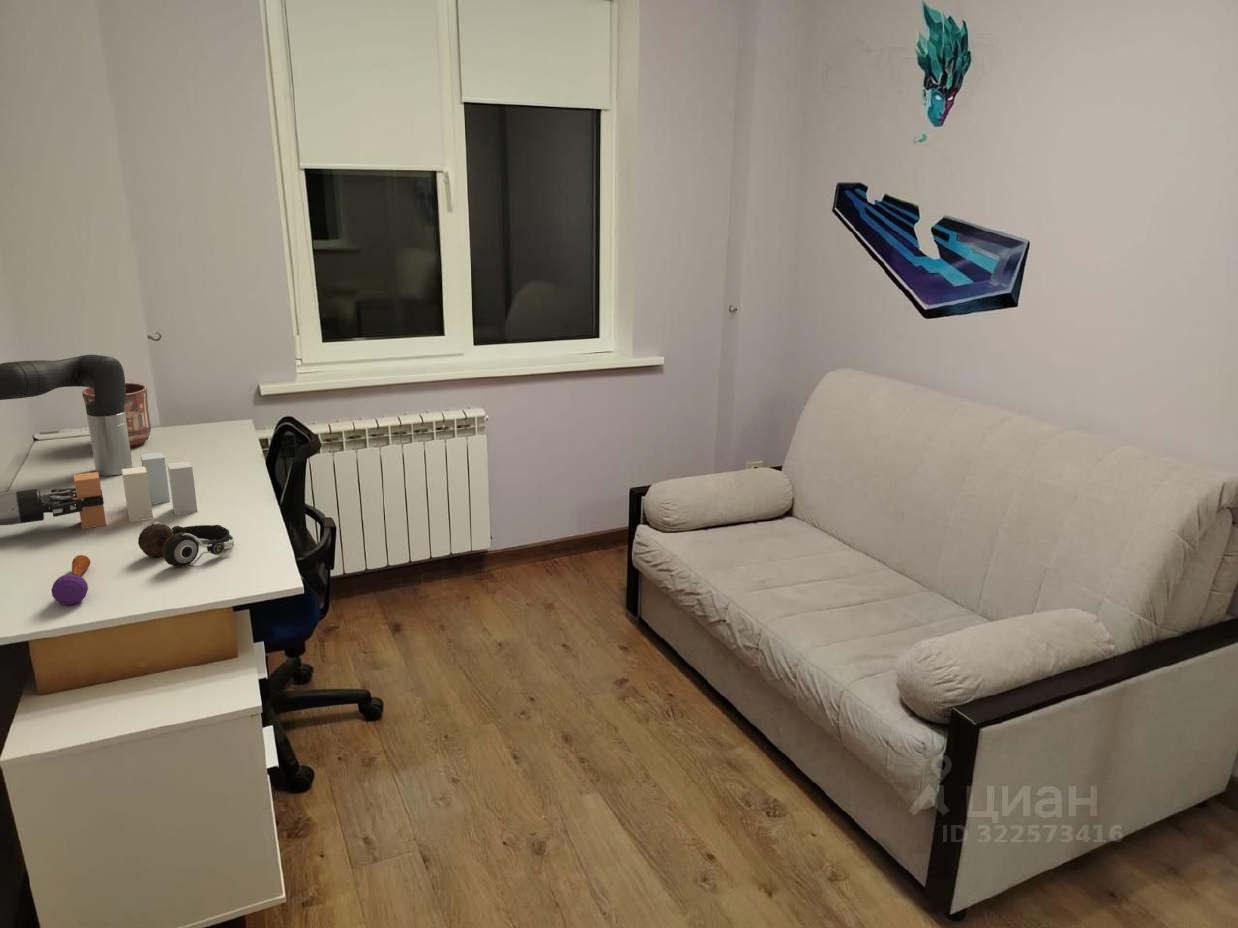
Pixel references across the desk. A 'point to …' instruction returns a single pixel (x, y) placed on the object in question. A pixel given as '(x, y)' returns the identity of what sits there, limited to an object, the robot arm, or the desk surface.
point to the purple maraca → (72, 583)
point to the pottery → (132, 412)
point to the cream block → (137, 493)
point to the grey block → (182, 487)
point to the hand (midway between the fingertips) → (102, 496)
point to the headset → (183, 542)
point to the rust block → (87, 488)
